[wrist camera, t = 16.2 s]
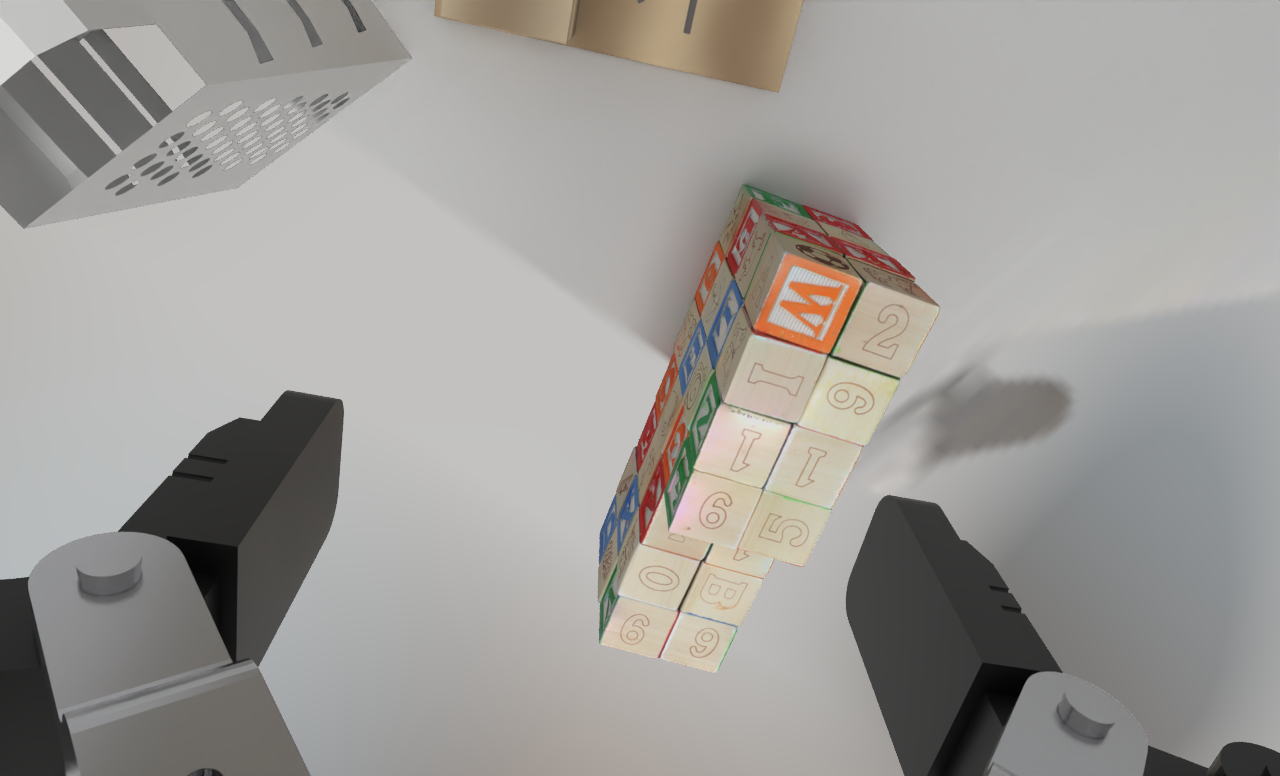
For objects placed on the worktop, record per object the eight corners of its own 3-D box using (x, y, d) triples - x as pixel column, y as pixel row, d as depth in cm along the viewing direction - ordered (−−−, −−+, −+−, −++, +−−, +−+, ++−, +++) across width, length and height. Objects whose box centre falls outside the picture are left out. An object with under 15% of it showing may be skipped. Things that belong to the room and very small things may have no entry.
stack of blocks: (699, 561, 50) (722, 725, 39) (597, 532, 49) (591, 692, 38) (859, 221, 42) (947, 308, 31) (741, 178, 41) (787, 251, 30)
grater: (412, 57, 38) (226, 125, 20) (237, 187, 40) (-72, 354, 22) (243, -178, 34) (-178, -359, 16) (60, -20, 36) (-489, -24, 18)
